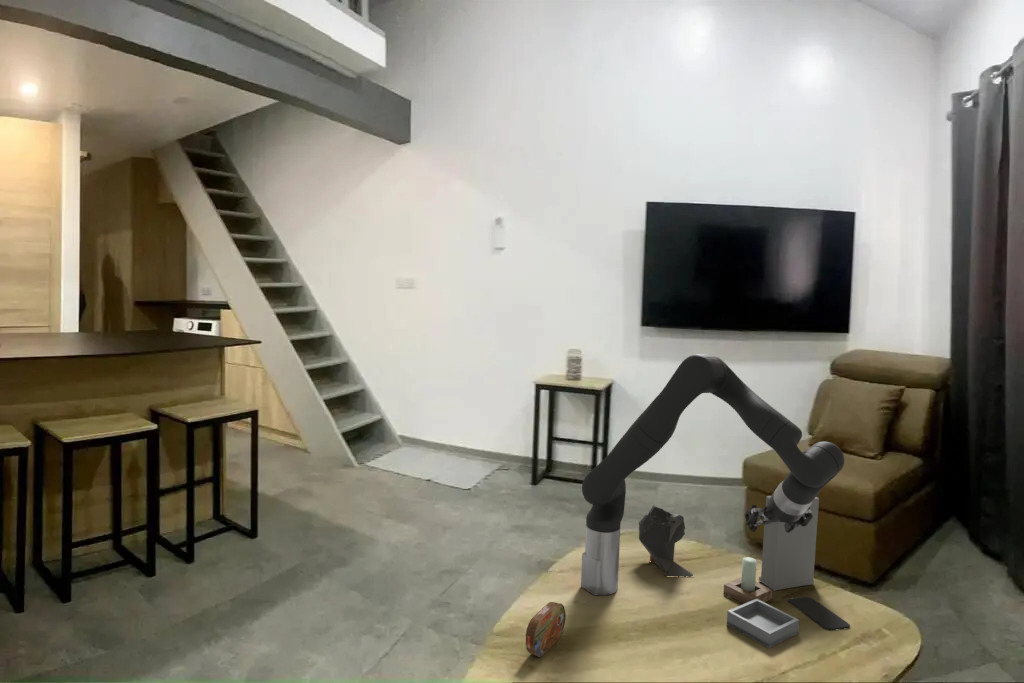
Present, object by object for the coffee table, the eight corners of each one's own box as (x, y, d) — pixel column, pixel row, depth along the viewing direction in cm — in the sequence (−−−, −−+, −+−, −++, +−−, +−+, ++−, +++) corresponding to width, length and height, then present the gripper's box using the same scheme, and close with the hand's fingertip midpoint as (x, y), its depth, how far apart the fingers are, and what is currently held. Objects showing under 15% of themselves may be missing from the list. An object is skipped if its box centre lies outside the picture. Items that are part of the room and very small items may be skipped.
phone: (809, 596, 165) (852, 626, 151) (809, 599, 166) (852, 629, 151) (785, 598, 164) (826, 629, 149) (785, 601, 164) (826, 632, 149)
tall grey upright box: (797, 574, 178) (803, 491, 176) (813, 584, 173) (820, 498, 170) (758, 581, 174) (763, 495, 172) (773, 591, 168) (779, 502, 166)
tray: (769, 648, 141) (769, 633, 141) (726, 624, 151) (727, 610, 151) (798, 633, 148) (799, 619, 147) (755, 611, 157) (756, 598, 157)
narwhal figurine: (677, 553, 191) (680, 497, 189) (695, 577, 175) (698, 516, 174) (632, 553, 190) (635, 497, 188) (645, 577, 175) (648, 515, 173)
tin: (534, 664, 134) (535, 627, 133) (522, 659, 135) (523, 622, 134) (566, 632, 146) (567, 598, 145) (554, 627, 148) (555, 594, 147)
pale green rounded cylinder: (749, 600, 163) (751, 564, 162) (737, 594, 166) (739, 559, 165) (757, 597, 165) (759, 561, 164) (745, 591, 168) (748, 556, 167)
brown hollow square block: (751, 607, 159) (752, 598, 159) (723, 593, 167) (724, 584, 166) (771, 598, 164) (772, 589, 164) (743, 585, 171) (744, 576, 171)
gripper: (818, 485, 142) (793, 514, 155) (755, 483, 142) (736, 513, 155) (827, 515, 137) (802, 544, 150) (763, 514, 138) (743, 542, 150)
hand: (768, 528), depth 152 cm, fingers open, 8 cm apart
